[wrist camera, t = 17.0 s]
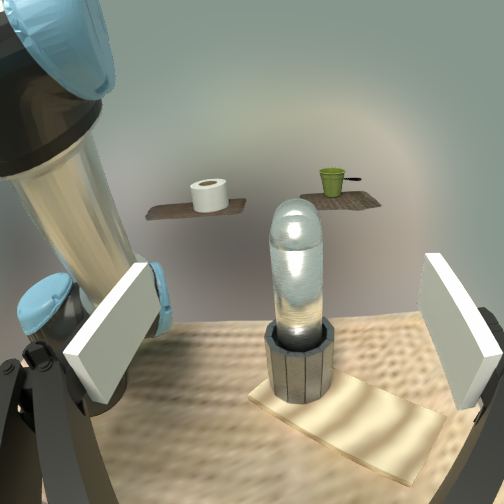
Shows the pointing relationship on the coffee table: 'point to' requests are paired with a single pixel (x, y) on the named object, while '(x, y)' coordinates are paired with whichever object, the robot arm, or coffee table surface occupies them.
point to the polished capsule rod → (297, 274)
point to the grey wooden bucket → (299, 367)
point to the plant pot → (332, 181)
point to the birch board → (362, 425)
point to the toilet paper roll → (209, 195)
